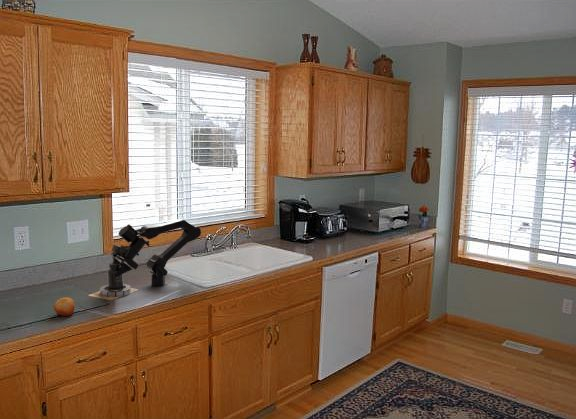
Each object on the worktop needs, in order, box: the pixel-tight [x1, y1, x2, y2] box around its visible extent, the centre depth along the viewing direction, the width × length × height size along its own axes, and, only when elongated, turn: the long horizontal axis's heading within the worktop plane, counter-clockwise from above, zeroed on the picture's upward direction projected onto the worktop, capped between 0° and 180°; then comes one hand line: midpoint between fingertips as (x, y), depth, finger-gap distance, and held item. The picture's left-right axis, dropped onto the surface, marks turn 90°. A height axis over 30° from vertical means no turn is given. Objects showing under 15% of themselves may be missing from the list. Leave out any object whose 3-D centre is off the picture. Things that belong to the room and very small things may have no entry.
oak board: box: [87, 287, 139, 301], centre depth 239 cm, size 18×14×1 cm
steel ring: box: [99, 283, 132, 298], centre depth 238 cm, size 14×14×2 cm
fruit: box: [52, 296, 76, 317], centre depth 211 cm, size 8×8×8 cm
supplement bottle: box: [106, 261, 124, 290], centre depth 237 cm, size 7×7×12 cm
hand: (112, 274), depth 236 cm, fingers closed on supplement bottle, 7 cm apart
